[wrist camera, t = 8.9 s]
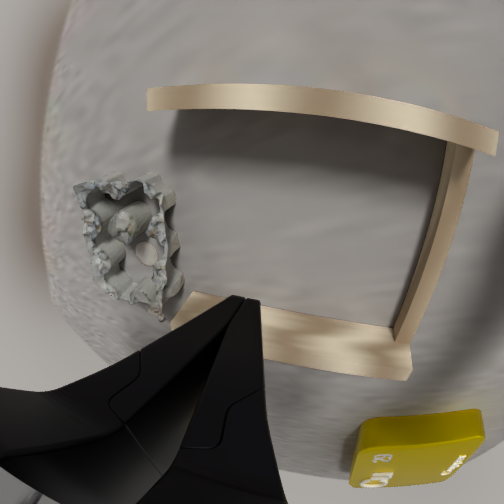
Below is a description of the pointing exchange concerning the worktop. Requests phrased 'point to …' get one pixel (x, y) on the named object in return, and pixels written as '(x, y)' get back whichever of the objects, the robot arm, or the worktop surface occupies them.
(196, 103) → the open wooden frame
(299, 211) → the worktop surface
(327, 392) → the worktop surface
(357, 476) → the element tile
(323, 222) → the worktop surface
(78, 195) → the egg carton
